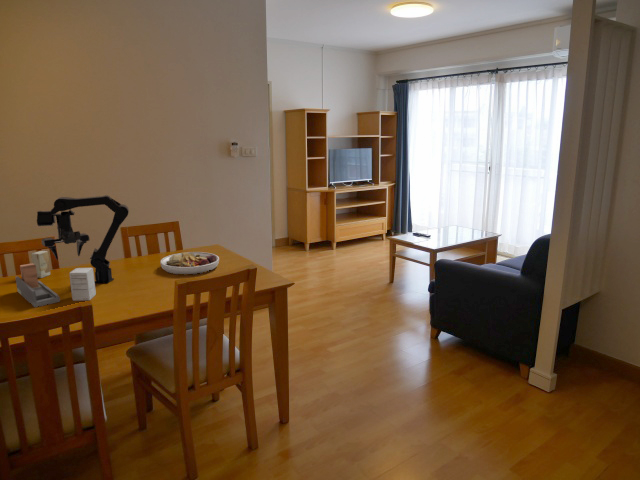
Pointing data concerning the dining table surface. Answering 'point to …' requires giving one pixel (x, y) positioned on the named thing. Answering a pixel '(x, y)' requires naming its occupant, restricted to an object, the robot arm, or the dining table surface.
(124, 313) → the dining table surface
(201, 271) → the bowl
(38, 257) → the skincare box
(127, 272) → the dining table surface
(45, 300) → the channel deck
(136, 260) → the dining table surface
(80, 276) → the supplement box
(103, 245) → the robot arm
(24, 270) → the terracotta block
